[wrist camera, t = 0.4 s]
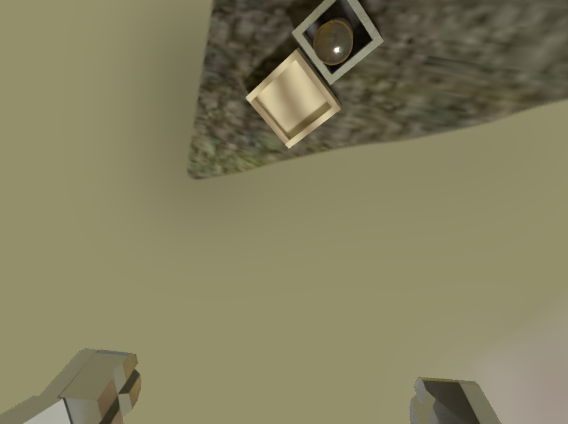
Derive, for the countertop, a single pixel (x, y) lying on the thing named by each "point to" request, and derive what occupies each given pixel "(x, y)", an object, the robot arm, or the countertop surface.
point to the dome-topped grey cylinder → (334, 41)
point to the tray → (294, 99)
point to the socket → (352, 60)
